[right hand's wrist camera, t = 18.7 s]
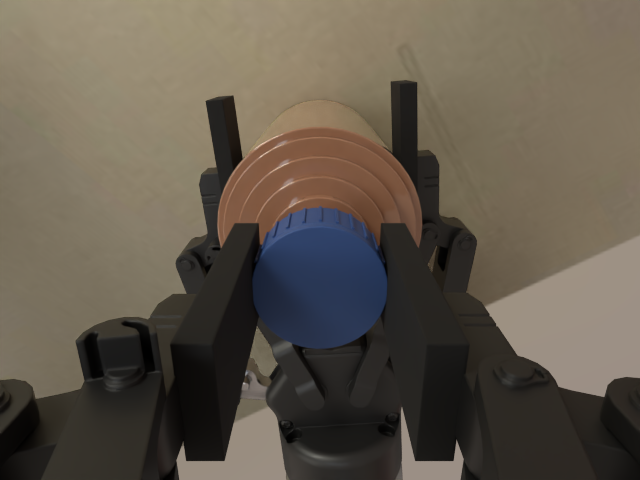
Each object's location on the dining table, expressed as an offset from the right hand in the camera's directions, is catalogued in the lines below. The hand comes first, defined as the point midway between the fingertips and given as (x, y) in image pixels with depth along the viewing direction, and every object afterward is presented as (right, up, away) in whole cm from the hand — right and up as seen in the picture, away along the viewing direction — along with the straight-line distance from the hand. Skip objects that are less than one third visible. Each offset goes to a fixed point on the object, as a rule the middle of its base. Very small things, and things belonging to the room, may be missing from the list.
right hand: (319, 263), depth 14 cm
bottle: (0, +6, +15) cm, 16 cm away
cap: (0, -1, -1) cm, 2 cm away
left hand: (0, +8, +7) cm, 10 cm away
